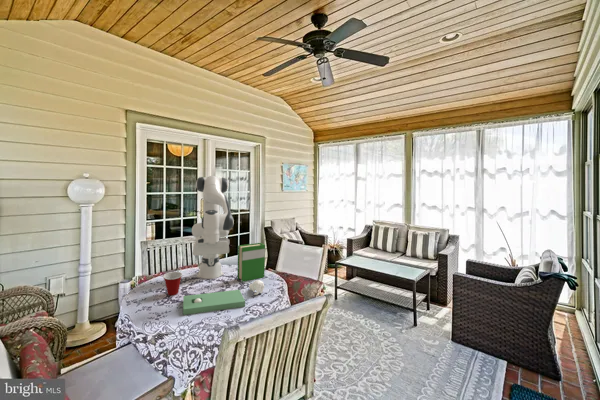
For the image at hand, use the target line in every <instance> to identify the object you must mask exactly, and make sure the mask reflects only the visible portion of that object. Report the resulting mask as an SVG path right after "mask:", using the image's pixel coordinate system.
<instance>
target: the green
mask: <svg viewBox="0 0 600 400" xmlns="http://www.w3.org/2000/svg"><path fill="white" fill-rule="evenodd" d="M197 298H200V299H201V300H202V302H199V303H194V301H195V299H197ZM182 306H183V307H182V309H183V310H182V312H183V313H182V314H183V316H184V315H186V316H187V315H194V314H201V313H207V312H213V311H214V312H215V311H222V310H228V309H229V310H230V309H236V308H243V307H246V300H245V298H244V296H243V294H242V292H241V290H240V289H233V290H225V291H223V290H222V291H215V292H207V293H198V294H190V295H183V303H182Z"/></svg>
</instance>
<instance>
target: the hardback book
mask: <svg viewBox="0 0 600 400" xmlns="http://www.w3.org/2000/svg"><path fill="white" fill-rule="evenodd" d="M265 255H266V244H264V243H262V242H257V243H255V242H254V243H248V244H241V245H240V244H239V245H237V280H241V282H242V283H243V282H249V281H253V280H254V281H255V280H260V279H262V278H265V267H266V266H265V261H266V256H265Z"/></svg>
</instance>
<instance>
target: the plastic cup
mask: <svg viewBox="0 0 600 400" xmlns="http://www.w3.org/2000/svg"><path fill="white" fill-rule="evenodd" d="M182 276H183V272H181V271H170V272H166V273H164V275H162V277H163V280H164V282H165V288H166V290H167V291H166V292H167V295H168V296H176V295H178V294H179V291H180V285H181V280H182Z"/></svg>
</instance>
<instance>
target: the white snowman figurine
mask: <svg viewBox="0 0 600 400" xmlns="http://www.w3.org/2000/svg"><path fill="white" fill-rule="evenodd" d="M248 287H249V291H250V292H251V291H252V292H253V293H254V294H253V295H254V296H257V295H258V294H263V291H264V289H265V284H264V281H262V280H260V279H256V280H254V281H253V282H252V283H250V284H249V286H248Z"/></svg>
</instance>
